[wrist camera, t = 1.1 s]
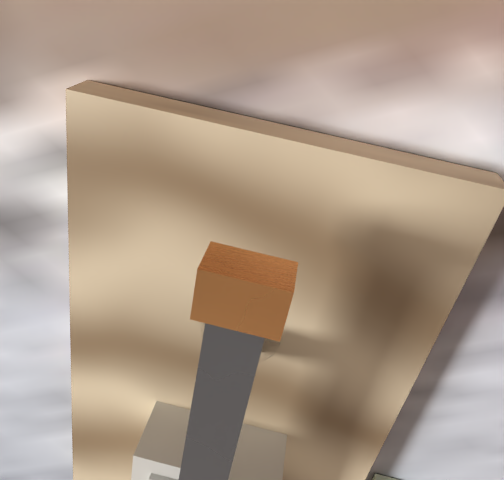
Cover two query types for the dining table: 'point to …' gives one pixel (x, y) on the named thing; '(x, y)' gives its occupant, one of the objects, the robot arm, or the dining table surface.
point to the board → (266, 242)
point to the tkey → (231, 348)
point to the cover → (173, 440)
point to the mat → (382, 477)
